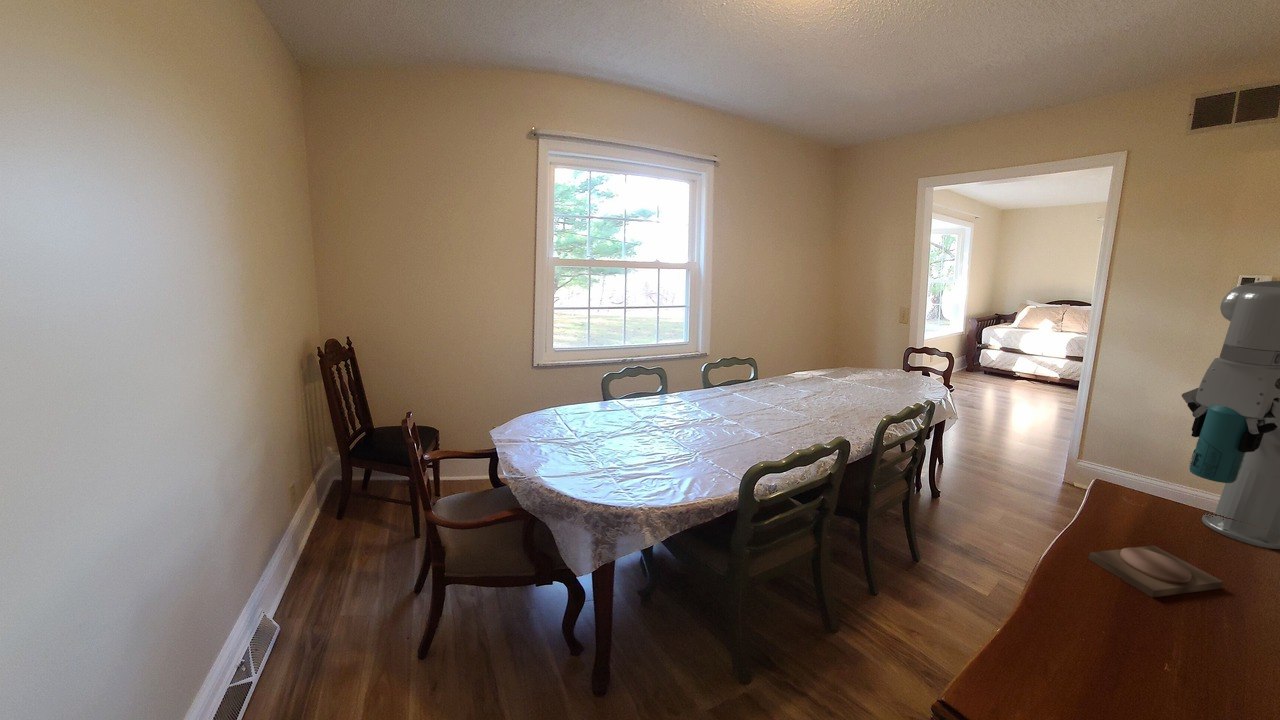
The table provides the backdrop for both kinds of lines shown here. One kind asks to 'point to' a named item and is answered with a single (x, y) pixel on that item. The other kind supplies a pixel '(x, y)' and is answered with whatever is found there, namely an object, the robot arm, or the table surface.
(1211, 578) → the rectangular slab with oval
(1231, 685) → the table surface
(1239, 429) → the beverage bottle
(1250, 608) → the table surface
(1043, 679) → the table surface
